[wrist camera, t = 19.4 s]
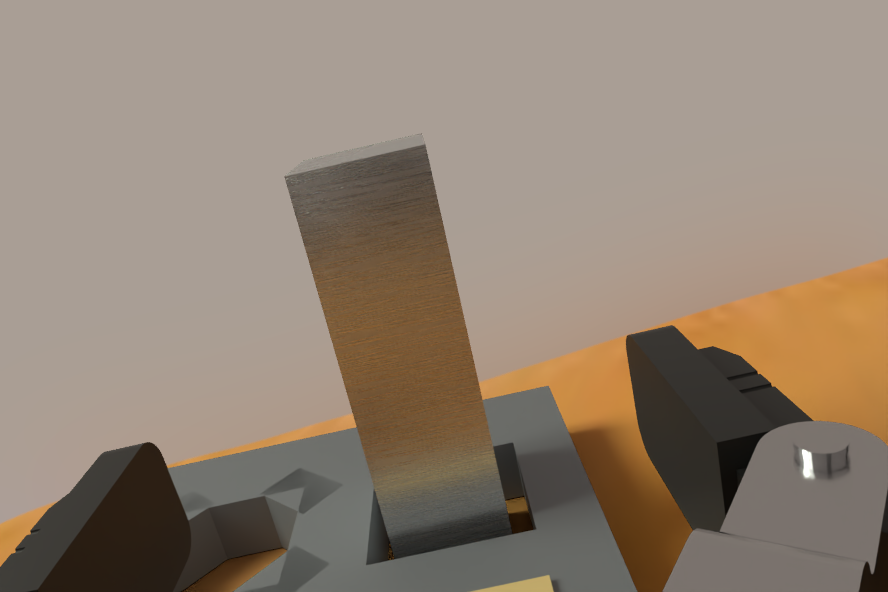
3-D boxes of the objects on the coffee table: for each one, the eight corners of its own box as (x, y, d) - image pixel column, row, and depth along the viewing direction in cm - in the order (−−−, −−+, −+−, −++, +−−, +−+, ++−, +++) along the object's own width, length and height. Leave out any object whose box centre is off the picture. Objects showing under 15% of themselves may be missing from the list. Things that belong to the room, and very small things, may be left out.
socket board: (557, 433, 33) (547, 381, 32) (656, 683, 19) (644, 604, 18) (181, 515, 33) (161, 465, 32) (23, 812, 20) (-17, 741, 19)
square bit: (506, 513, 28) (421, 133, 23) (523, 582, 24) (425, 144, 19) (408, 535, 28) (304, 160, 23) (408, 607, 24) (284, 176, 20)
